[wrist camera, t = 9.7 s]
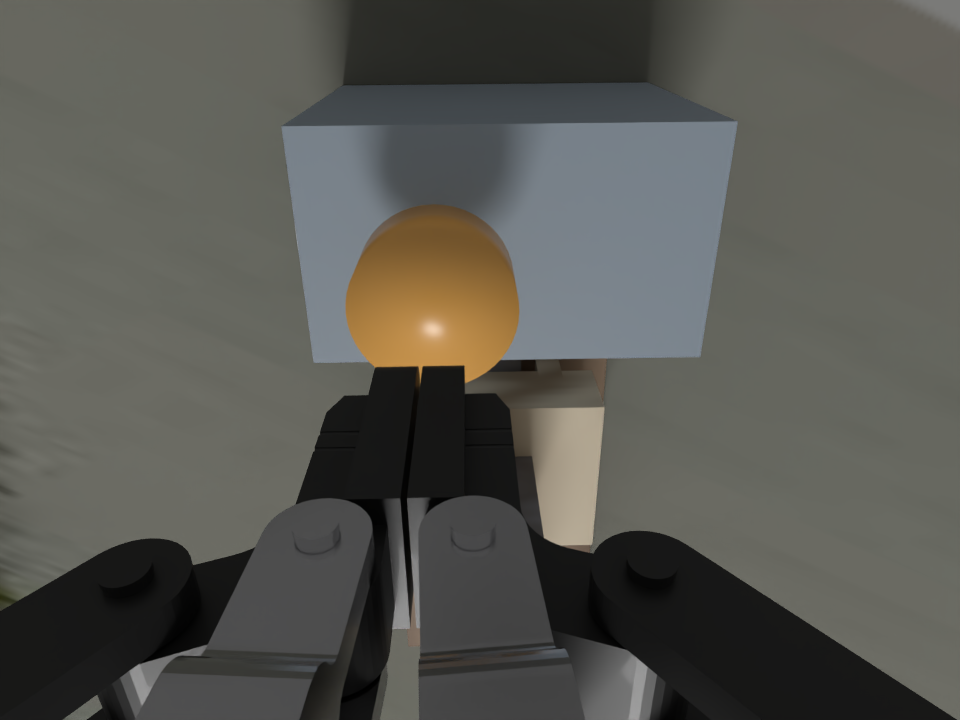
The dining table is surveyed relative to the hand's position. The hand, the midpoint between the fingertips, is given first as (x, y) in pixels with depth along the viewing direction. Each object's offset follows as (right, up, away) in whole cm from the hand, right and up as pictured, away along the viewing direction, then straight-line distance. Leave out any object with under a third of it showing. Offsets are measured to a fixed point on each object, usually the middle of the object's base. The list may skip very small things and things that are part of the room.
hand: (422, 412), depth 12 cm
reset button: (0, +3, +6) cm, 7 cm away
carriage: (+2, -2, +20) cm, 20 cm away
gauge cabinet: (+2, +9, +17) cm, 19 cm away
